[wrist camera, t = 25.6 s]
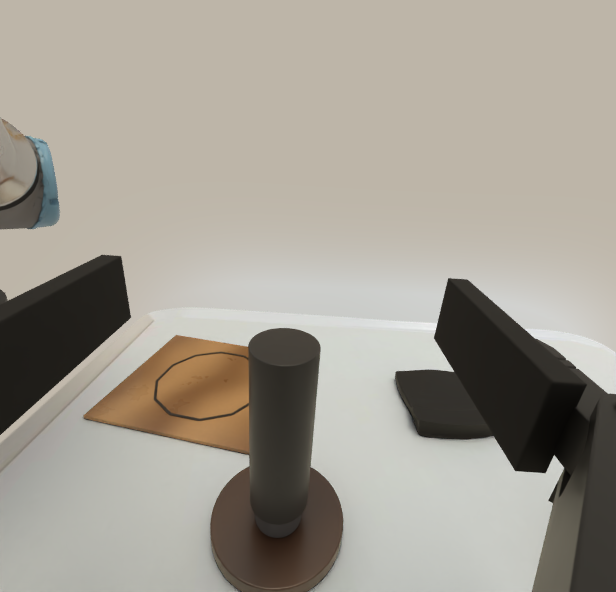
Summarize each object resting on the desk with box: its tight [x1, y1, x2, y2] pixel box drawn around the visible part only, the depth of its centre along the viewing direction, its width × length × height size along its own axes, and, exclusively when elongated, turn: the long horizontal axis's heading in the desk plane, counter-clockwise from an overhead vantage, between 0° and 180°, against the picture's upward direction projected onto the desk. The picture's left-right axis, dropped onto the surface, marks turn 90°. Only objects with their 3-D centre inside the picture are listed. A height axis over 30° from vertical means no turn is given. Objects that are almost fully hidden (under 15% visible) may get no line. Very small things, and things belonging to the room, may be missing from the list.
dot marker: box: [248, 328, 320, 538], centre depth 19 cm, size 3×3×12 cm
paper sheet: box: [83, 335, 249, 454], centre depth 33 cm, size 16×14×1 cm
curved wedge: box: [395, 370, 493, 439], centre depth 32 cm, size 8×14×2 cm, turn 91°
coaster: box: [210, 466, 343, 592], centre depth 21 cm, size 8×8×1 cm
